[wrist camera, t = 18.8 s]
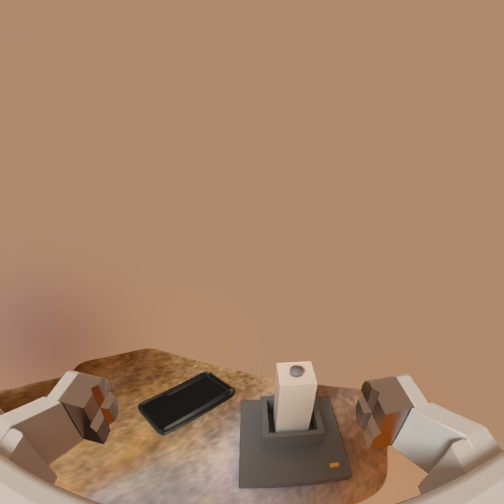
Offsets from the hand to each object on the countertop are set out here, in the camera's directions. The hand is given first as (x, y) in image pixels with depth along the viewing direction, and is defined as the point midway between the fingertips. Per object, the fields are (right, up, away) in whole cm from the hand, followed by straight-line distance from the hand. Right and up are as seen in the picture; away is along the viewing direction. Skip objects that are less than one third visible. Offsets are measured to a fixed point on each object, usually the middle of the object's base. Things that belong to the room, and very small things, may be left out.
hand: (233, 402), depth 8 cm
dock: (+6, -22, +25) cm, 34 cm away
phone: (-10, -20, +33) cm, 40 cm away
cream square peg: (+6, -20, +27) cm, 34 cm away
